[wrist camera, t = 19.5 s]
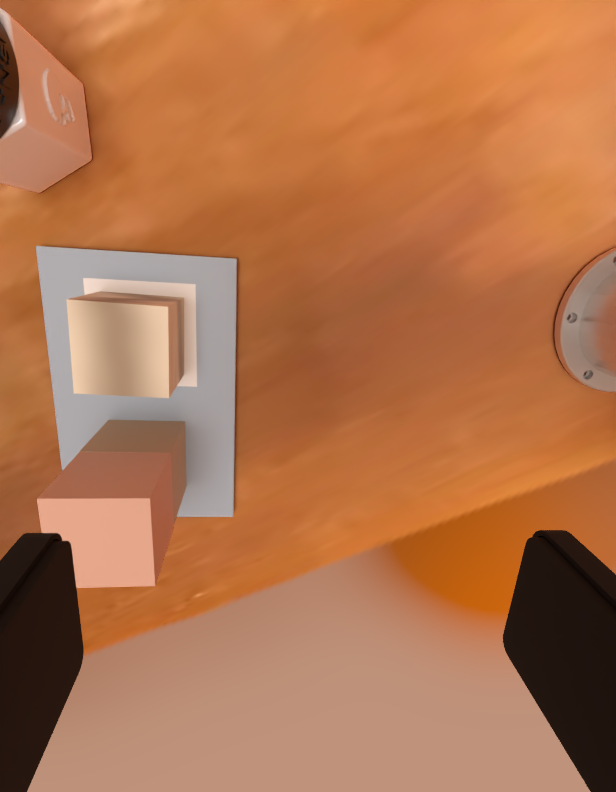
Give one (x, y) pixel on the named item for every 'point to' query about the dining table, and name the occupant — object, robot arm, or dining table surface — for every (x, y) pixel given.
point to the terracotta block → (112, 516)
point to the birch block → (126, 344)
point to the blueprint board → (148, 416)
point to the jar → (38, 113)
